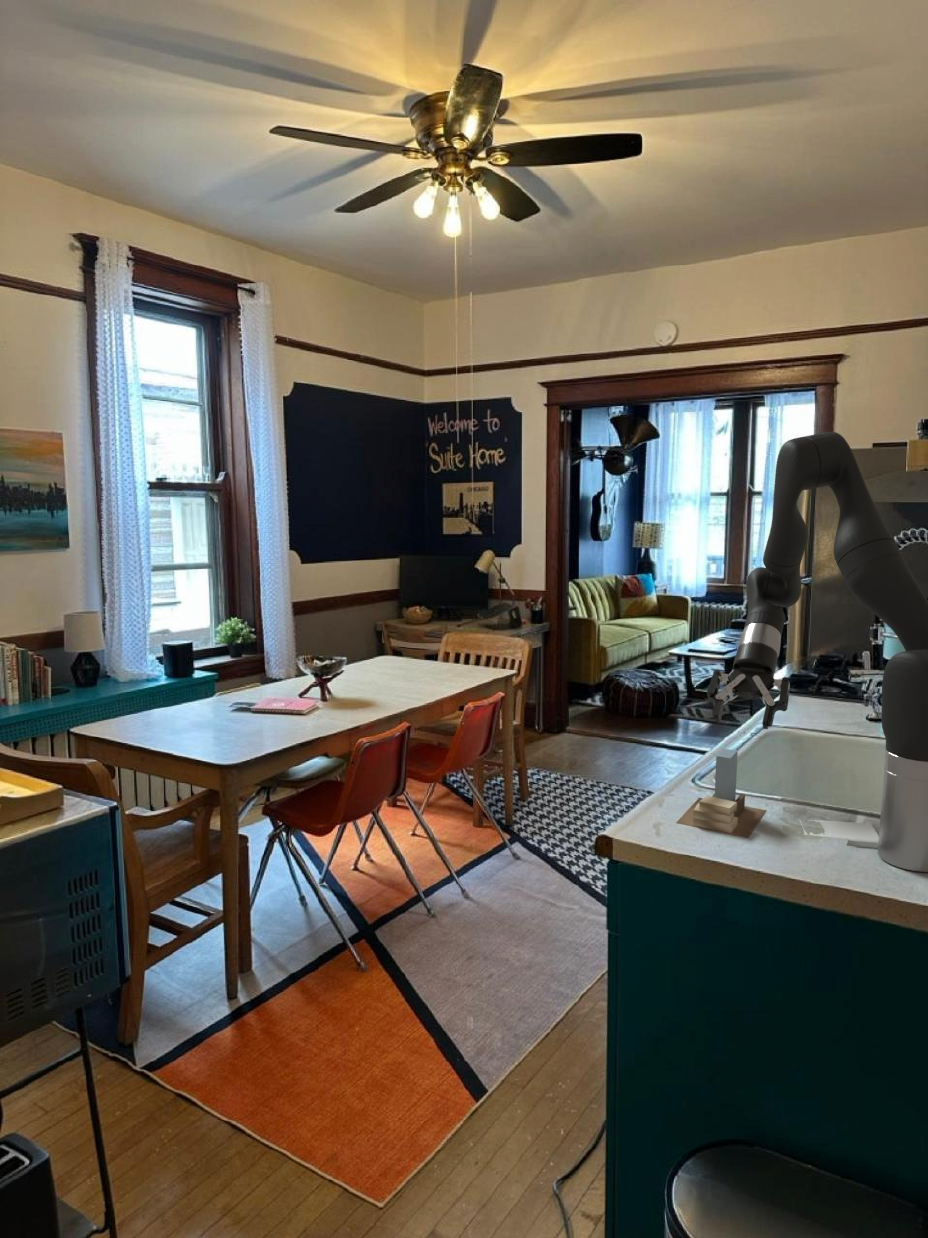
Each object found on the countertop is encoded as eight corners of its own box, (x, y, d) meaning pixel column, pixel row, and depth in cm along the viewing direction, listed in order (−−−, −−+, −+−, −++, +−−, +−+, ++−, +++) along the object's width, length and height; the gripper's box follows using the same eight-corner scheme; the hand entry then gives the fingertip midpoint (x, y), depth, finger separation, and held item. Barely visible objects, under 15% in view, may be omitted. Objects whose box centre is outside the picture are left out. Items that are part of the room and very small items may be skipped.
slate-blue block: (734, 810, 143) (737, 750, 142) (727, 819, 139) (730, 758, 138) (721, 807, 145) (723, 748, 143) (713, 817, 140) (716, 756, 139)
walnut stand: (766, 815, 143) (767, 797, 143) (748, 843, 132) (749, 823, 131) (698, 802, 150) (699, 784, 149) (675, 828, 138) (676, 808, 137)
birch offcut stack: (737, 825, 137) (738, 801, 136) (731, 833, 133) (732, 809, 133) (698, 817, 140) (699, 794, 140) (691, 825, 137) (692, 801, 136)
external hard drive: (882, 851, 130) (800, 844, 133) (869, 831, 138) (792, 825, 140) (883, 842, 130) (801, 835, 132) (870, 822, 137) (792, 816, 140)
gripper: (717, 637, 157) (698, 707, 149) (795, 644, 149) (779, 718, 141) (723, 659, 162) (705, 728, 154) (798, 667, 154) (783, 739, 146)
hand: (740, 723), depth 147 cm, fingers open, 8 cm apart
